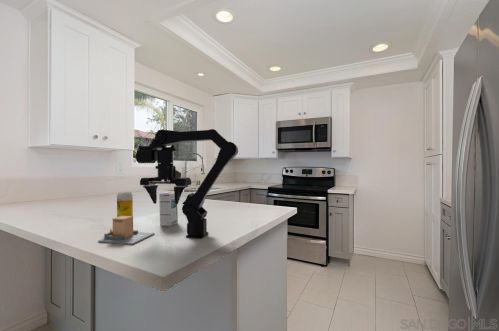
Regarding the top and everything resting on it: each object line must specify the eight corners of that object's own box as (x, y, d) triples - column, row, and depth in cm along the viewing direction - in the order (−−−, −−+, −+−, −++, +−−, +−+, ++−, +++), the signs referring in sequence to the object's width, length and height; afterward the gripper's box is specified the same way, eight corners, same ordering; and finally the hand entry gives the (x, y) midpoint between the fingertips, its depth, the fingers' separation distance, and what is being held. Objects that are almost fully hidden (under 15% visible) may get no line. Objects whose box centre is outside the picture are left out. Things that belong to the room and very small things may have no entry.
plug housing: (133, 234, 89) (133, 216, 89) (124, 238, 84) (124, 219, 84) (122, 234, 90) (121, 215, 90) (112, 237, 85) (112, 218, 85)
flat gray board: (154, 234, 91) (154, 225, 91) (133, 244, 79) (132, 234, 79) (123, 232, 94) (123, 223, 94) (98, 242, 82) (98, 232, 82)
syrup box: (171, 226, 103) (171, 193, 103) (159, 225, 104) (158, 193, 104) (177, 223, 109) (177, 191, 108) (166, 222, 110) (166, 191, 110)
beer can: (113, 227, 101) (113, 192, 101) (126, 224, 107) (125, 191, 107) (124, 228, 99) (123, 193, 99) (135, 225, 105) (135, 191, 105)
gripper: (197, 163, 96) (197, 201, 96) (156, 163, 100) (156, 200, 100) (184, 163, 85) (184, 206, 85) (138, 163, 89) (139, 204, 89)
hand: (165, 204), depth 90 cm, fingers open, 9 cm apart
